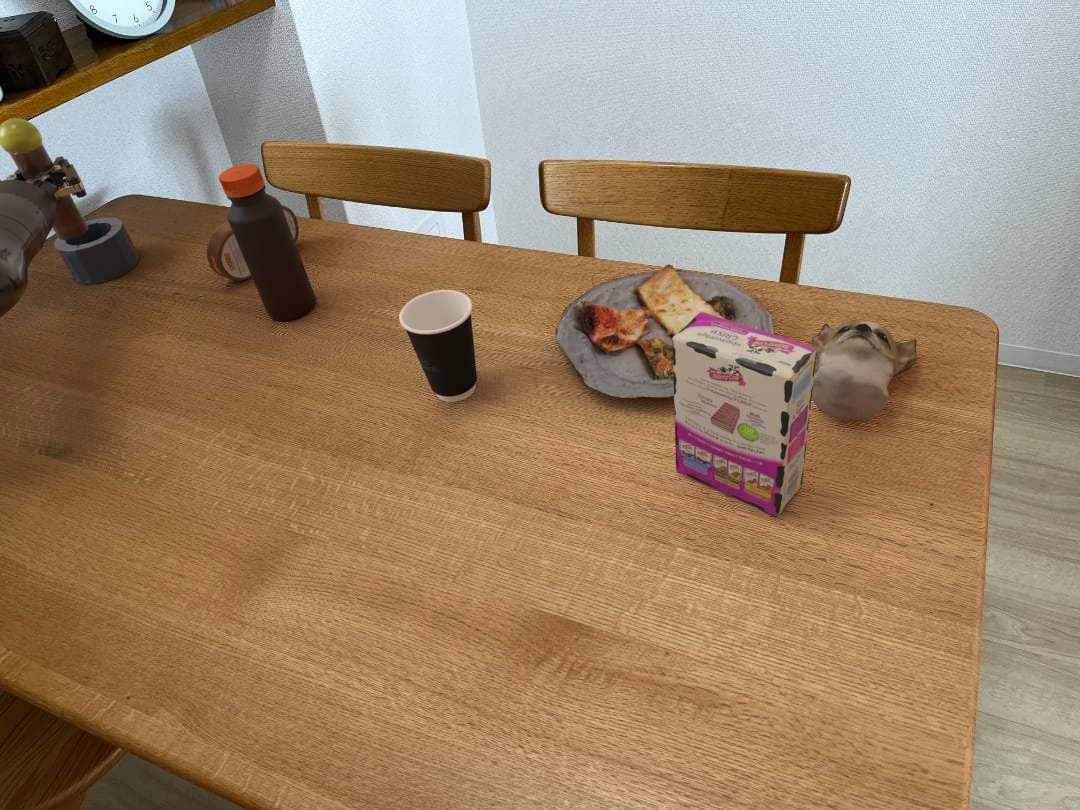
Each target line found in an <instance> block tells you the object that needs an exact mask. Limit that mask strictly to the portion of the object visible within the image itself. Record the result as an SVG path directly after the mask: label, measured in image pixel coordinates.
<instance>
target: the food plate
mask: <svg viewBox="0 0 1080 810" xmlns="http://www.w3.org/2000/svg"><path fill="white" fill-rule="evenodd" d="M700 312H704V313H707V314H710V315H713V316H717V317H720V318H723V319H726V320H730V321H733V322H736V323H739V324H742V325H745V326H749V327H752V328H755V329H758V330H761V331H765V332H768V333H771V334H774V335H776V334H775V328H774V325H773V317H772V316H771V315H770V312H769V311H768V309H766V308H765V307H764V306H763V305H762V304H761V303H760V302H759V301H757V300H756V299H755V298H754V297H753V296H752V295H751V294H749V293H748V292H746V291H745V290H744V289H743V288H741V287H740V286H738V285H737V284H736V283H734V282H733V281H731V280H729V279H726V278H724V277H721V276H718V275H715V274H708V273H704V272H694V271H693V272H691V271H687V270H682V269H679V268H678V269H675V267H674V266H673V265H672V264H671V263H669V264H666V265H665V266H664V267H663V268H661V269H660V270H658V271H653V270H651V271H642V272H639V273H632V274H629V275H626V276H621V277H616V278H611V279H609V280H607V281H605V282H602V283H600V284H597V285H595V286H593V287H592V288H590V289H588V290H587V291H585V293H583V294H581V295H580V296H579V297H577V298H576V299H575V300H574V301H572V302H571V303H570V304H568V305H567V306H566V307H565V308H564V310H563V311H562V315H561V316H560V320H559V322H558V323H557V327H556V328H555V333H554V334H555V342H557V344H558V345H559V346H560V349H562V351H563V352H564V354H565V355H566V357H567V358H568V360H569V362H570V363H572V365H573V367H574V369H575V370H576V372H578V373H579V375H581V378H582V380H583V382H584V384H585V386H587V387H589V388H591V389H593V390H595V391H598V392H600V393H602V394H605V395H608V396H610V397H615V398H621V399H625V398H629V399H637V398H641V397H645V398H648V397H649V398H671V397H674V378H673V348H672V338H673V337H674V336H675V335H676V334H677V333H678V332H679V331H680V330H682V329H683V328H684V327H685V326H686V325H688V323H689V322H690V321H691V320H692V319H693V318H694V317H695V316H696V315H698V314H699V313H700Z"/></svg>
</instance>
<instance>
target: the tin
mask: <svg viewBox="0 0 1080 810" xmlns="http://www.w3.org/2000/svg"><path fill="white" fill-rule="evenodd" d="M281 206H282V208H283V211H284V214H285V217H286V219H287V222H288V225H289V227H290V230H291V233H292V235H293V238H294V241H295V243H296V244H297V242H298V239H299V233H300V229H299V223H298V219H297V217H296V213H294V211H293V210H292V209H291V208H289V207H288V206H286V205H284V204H281ZM206 259H207V262H208V265H209V267H210V268H211V270H212V271H213V272H214V273H215V274H216V275H218V276H220V277H222V278H226V279H228V280H232V281H238V282H239V281H240V282H241V281H246V280H248V279H250V278H252V276H251V274H250V271H249V269H248V267H247V264H246V262H245V260H244V257H243V255H242V253H241V250H240V248H239V246H238V243H237V241H236V238H235V236H234V234H233V231H232V229H231V227H230V224H229V222H228V220H227V221H225V222H223V223H222V224H220V225H219V226H218V227H217V228H216V229H215V230H214V231H213V232H212V233H211V235H210V237H209V239H208V241H207V245H206Z"/></svg>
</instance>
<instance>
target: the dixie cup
mask: <svg viewBox="0 0 1080 810" xmlns="http://www.w3.org/2000/svg"><path fill="white" fill-rule="evenodd" d="M472 311H473V302H472V299H471V298H470V297H469V296H468V295H467V294H465V293H463V292H460V291H459V290H452V289H439V290H431V291H427V292H425V293H422V294H419V295H417V296H416V297H414V298H412V299H411V300H409V301H407V303H406V304H405V305H403V307H402V309H401V310H400V312H399V315H398V316H399V317H398V319H399V323H400V325H401V327H402V328H404V329H405V331H406V333H407V336H408V338H409V340H410V343H411V345H412V348H413V350H414V352H415V354H416V357H417V359H418V361H419V363H420V366H421V368H422V370H423V373H424V375H425V378H426V379H427V382H428V384H429V387H430V389H431V391H432V392H433V393H434V394H435V397H437V398H438V399H439V400H440V401H443V402H446V403H455V402H460V401H463V400H466V399H468V398H469V397H470V396H472V395H473V393H474V392H475V391H476V389H477V385H476V384H477V381H478V375H477V374H478V373H477V365H476V363H477V362H476V354H475V340H474V332H473V331H474V330H473V320H472Z"/></svg>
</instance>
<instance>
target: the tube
mask: <svg viewBox="0 0 1080 810" xmlns="http://www.w3.org/2000/svg"><path fill="white" fill-rule="evenodd" d="M85 222H86V224H87V226H88V230H87V232H86V233H84V234H83V235H81V236H79V237H76V238H73V239H69V240H61V239H59V238H58V237H56V239H55V241H54V243H53V246H54V247H55V249H56V250H57V252H58V254H59V256H60V257H61V259H62V261H63V262H64V264H65V266H66V268H67V270H68V271H69V273H70V275H71V276H72V278H73V279H74V280H75V282H77V283H78V284H81V285H97V284H98V285H99V284H102V283H107V282H109V281H112V280H115V279H117V278H121V276H123V275H126V273H128V272H130V271H131V270H133V268H135V267H136V266H137V264H138V263H139V261H140V255H139V252H138V250H137V248H136V247H135V245H134V243H133V241H132V239H131V237H130V235H129V233H128V231H127V229H126V227H125V226H124V224H123V222H122V221H121V219H120V218H117V217H99V218H95V219H90V220H86V221H85Z"/></svg>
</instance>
